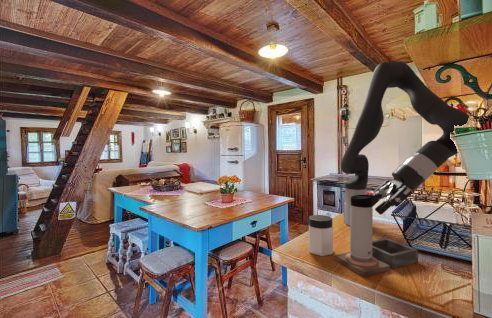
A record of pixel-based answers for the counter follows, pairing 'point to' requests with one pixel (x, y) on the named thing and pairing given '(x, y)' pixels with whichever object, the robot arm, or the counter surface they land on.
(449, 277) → the counter surface
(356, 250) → the travel mug
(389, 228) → the counter surface
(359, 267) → the mug dock
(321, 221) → the jar
